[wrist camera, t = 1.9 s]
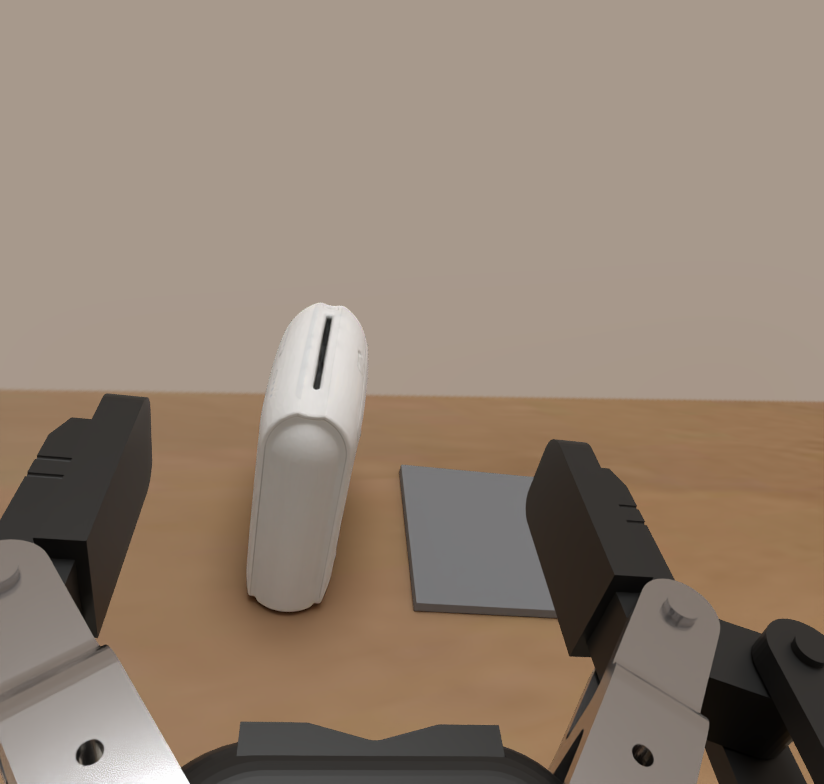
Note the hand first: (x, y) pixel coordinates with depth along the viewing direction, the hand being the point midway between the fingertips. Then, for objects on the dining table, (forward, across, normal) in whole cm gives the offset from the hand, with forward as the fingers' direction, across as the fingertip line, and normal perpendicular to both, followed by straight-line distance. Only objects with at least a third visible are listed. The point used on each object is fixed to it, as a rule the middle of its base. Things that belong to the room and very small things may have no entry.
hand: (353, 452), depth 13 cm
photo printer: (+14, 0, +18) cm, 23 cm away
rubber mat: (+15, -12, +18) cm, 26 cm away
